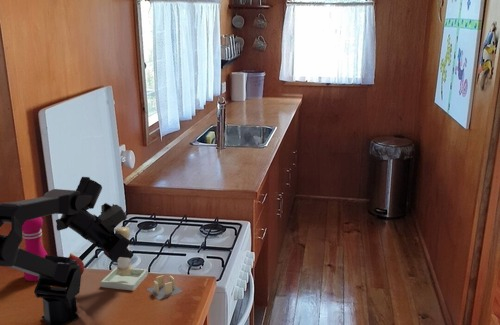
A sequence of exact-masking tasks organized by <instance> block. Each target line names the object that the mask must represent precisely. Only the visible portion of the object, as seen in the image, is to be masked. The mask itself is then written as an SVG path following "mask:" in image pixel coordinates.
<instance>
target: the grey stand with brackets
mask: <svg viewBox="0 0 500 325" xmlns="http://www.w3.org/2000/svg"><path fill="white" fill-rule="evenodd" d="M164 276H165V275H164V274H163V275H159V276H156V277H155V278H156V279H155V280H153V286H151V287H149V288H146V291H148V292H149V293H150V294H151V295H153V296H154V298H156V299H157V300H163V299H165V298H168V297H172V296H174V295H177V294H182V293H183V292H184V291H183V290H182V289H180V288H179V287H178V286H177V285H176V283H175V282H176V281H175V278H174V277H173V276H172V275H169V281H167V282H165V277H164Z"/></svg>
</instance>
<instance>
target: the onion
mask: <svg viewBox="0 0 500 325" xmlns="http://www.w3.org/2000/svg"><path fill="white" fill-rule="evenodd" d="M68 258H70V259H71V260H76V261H77V262H76V264H78V265H79V267H80V270H81V276H82V275H83V274H84V272H85V263H84V261H83V260H82V259H81V258H79V257H78V256H76V255H74V254H73V253H72V252H70V253H69V256H68Z"/></svg>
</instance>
